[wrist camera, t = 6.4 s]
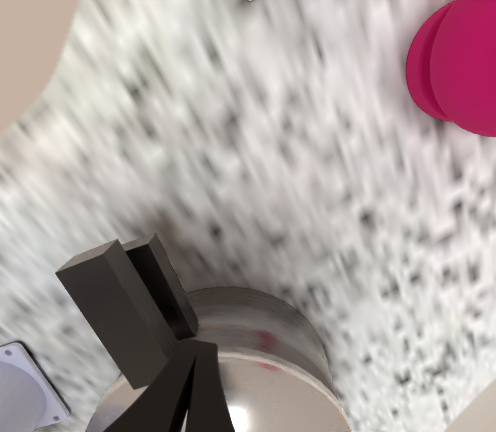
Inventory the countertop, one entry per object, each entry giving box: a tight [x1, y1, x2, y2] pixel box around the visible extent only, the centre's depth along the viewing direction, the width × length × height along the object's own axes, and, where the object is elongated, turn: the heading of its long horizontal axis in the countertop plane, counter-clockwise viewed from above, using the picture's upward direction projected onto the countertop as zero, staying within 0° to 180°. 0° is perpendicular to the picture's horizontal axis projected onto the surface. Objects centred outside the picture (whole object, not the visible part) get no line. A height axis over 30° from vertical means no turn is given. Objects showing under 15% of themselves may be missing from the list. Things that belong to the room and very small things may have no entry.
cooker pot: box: [118, 233, 338, 400], centre depth 23 cm, size 15×24×6 cm, turn 20°
